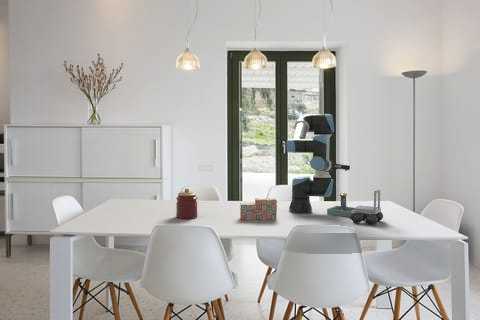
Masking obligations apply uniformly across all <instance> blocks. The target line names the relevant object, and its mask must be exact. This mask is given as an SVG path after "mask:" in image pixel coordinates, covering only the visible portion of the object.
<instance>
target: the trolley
mask: <svg viewBox="0 0 480 320" xmlns="http://www.w3.org/2000/svg"><path fill="white" fill-rule="evenodd" d="M381 210H382V207H381V189H377V190H374V192H373V206H371V205H370V206H369V205H361V204H360V205H358V206H356V207H354V212H356V213H354V214H352V216H351V218H350V219H351V221H352V222H353V223H355V224H360V223H361V222H363V220H365V223H366V224H367V225H369V226H374V225H375V224H377V222H380V221H382V220H383V219H384V214H383V212H382V211H381Z"/></svg>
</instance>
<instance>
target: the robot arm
mask: <svg viewBox="0 0 480 320" xmlns="http://www.w3.org/2000/svg"><path fill="white" fill-rule="evenodd" d="M293 128H294V132H293V134H292V138H289V139H287V140H286V151H287V152H288V153H293V154H296V153H297V154H299V153H300V154H301V153H303V154H304V153H305V154H306V153H309V154H311V153H312V157H311V159H310V162H309V165H310V168H311V169H313V170H315V174H314V175H313V176H312V178H311V177H310V176H298V177H294V178H292V181H291V182H292V183H291V202H290V205H289V208H288V211H289V212H290V213H294V214H310V213H312V212H313V207H312V204H311V201H310V199H311V198H310V197H319V198H320V197H322V198H328V197H331V196H332V193H333V185H334V179H333V178H332V176H331V175H330V172H332V171H333V170H344V171H346V172H348V171H350V169H351V165H345V164H340V163H339V164H338V163H334V162H333V160H331V159H330V138H331V136H332V135H333V133H335V125H334V117H333V115H332V113H331V114H330V113H315V114H312V113H310V114H305V115H303V116H301V117H299V118H298V119H297V120H296V121H295V123H294V126H293ZM307 133H313V136H312V138H310V139H309V138H308V139H306V138H307Z"/></svg>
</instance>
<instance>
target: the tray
mask: <svg viewBox="0 0 480 320" xmlns="http://www.w3.org/2000/svg"><path fill="white" fill-rule="evenodd" d="M346 208H347V211H344V210H341V205H334V206H332V207H329V208H327V209H326V210H327V211H326V214H327V215H331V216H339V217H346V218H350V213H351V212H354V208H355V207H352V206H346Z"/></svg>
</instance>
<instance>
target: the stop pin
mask: <svg viewBox="0 0 480 320" xmlns="http://www.w3.org/2000/svg"><path fill="white" fill-rule="evenodd" d="M339 196H340V206H341V210H344V211H347V208H346V207H347V196H348V193H345V192H341V193H339Z"/></svg>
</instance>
